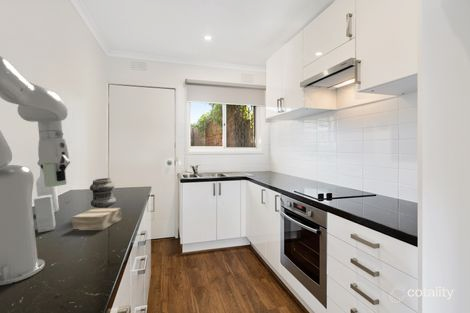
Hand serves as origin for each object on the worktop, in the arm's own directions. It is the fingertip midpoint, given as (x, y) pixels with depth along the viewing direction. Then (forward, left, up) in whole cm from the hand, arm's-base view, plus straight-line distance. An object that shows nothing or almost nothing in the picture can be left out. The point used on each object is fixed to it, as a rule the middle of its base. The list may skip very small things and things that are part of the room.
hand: (55, 180), depth 98 cm
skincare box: (+6, +14, -23) cm, 28 cm away
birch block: (+14, -6, -23) cm, 28 cm away
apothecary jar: (+32, +6, -23) cm, 40 cm away
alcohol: (+29, +39, -23) cm, 54 cm away
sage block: (0, 0, -2) cm, 2 cm away
